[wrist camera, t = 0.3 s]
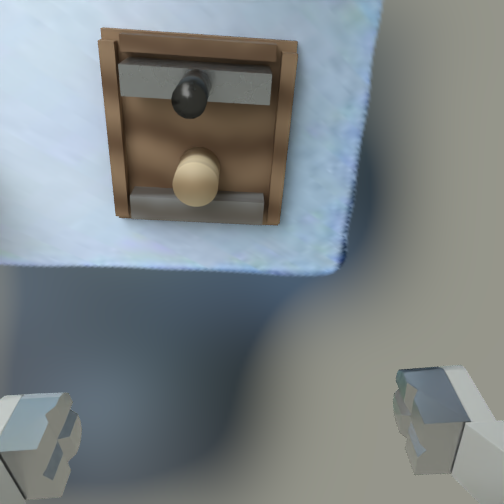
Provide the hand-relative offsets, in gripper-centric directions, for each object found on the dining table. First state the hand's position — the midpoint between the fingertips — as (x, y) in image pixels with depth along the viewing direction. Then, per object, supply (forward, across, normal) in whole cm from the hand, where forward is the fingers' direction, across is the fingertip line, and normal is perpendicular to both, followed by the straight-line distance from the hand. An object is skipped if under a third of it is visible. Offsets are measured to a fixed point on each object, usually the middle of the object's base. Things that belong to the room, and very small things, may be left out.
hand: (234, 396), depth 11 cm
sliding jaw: (+44, +4, 0) cm, 44 cm away
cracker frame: (+45, +5, +7) cm, 46 cm away
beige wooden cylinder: (+44, +6, +10) cm, 46 cm away
